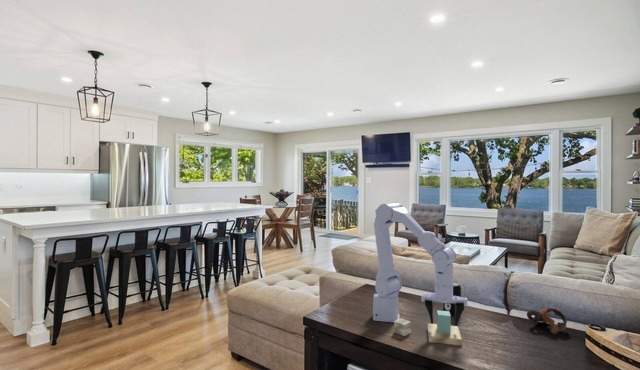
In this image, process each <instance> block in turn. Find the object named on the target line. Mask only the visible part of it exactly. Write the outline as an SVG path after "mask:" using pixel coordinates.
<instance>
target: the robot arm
mask: <svg viewBox="0 0 640 370" xmlns="http://www.w3.org/2000/svg"><path fill="white" fill-rule="evenodd" d="M394 223H401V224H402V225H404V227H406V229H408V230H409V231H410V232H411V234H413V235H414V236H415V237H417V243H418V244H419V245H420V246H421V247H422V248H423V249H424V251H426V253H428V254H429V256H430V257H431V260H432V263H433V264H434V266H435V267H434V293H429V294H428V293H425V294H423V293H422V294H421V298H420V299H421V302H422V303H424V306H425V308H426V310H427V312H428V315H429V319H430V324H434V316H433V315H434V312H433V311H434V304H433V303H441V304H443V303H454V304H455V316H454V326H458V324H459V322H460V321H459V320H460V318H461V316H462V314H463V312H464V311H465V306H468V300H469V299H468V298H467V297H464V296H463V297H462V296H461V297H458V296H453V281H454V263H455V261H456V259H457V253H456V251H455V250H454V249H453V247H450V246H447V245H446V244H445V243H443V242H442V241H441V240H440V239H438V238H437V236H436V233H434V232H432V231H427V230H424V228H423V227H422V226H421V225H420V224H419V223H418V222H417V221H416V220H415V218H414V217H413V216H411V214H410V213H409V211H408V210H407V208H405V206H403V205H402V203H400V202H393V203H382V204H380V205H379V206H377V208H376V209H375V219H374V222H373V227H374V235H375V236H374V237H375V243H376V251H377V259H378V260H377V261H378V268H379V271H378V273H377V274H376V276H375V285H374V288H375V291H376V293H374V294H373V298H372V299H373V301H372V303H373V304H372V305H373V306H372V314H373V315H372V316H373V317H372V321H375V322H386V323H394V321H396V320H398V319H400V315H401V314H400V313H399V293H400V292H399V291H401V289H402V287H403V283H402V280H401V278H400V275H399V272H398V271H397V270H396V269H395V267H394V257H393V250H392V249H393V248H392V243H391V235H390V234H391V233H390V228H391V226H392V225H393V224H394ZM458 327H459V326H458Z"/></svg>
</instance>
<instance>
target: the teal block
mask: <svg viewBox="0 0 640 370" xmlns="http://www.w3.org/2000/svg"><path fill="white" fill-rule="evenodd" d="M451 318H452V316H451V315H450V312H449V311H443V310H436V324H437V330H438V333H446V334H451V326H452V324H451V322H452V319H451Z"/></svg>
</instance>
